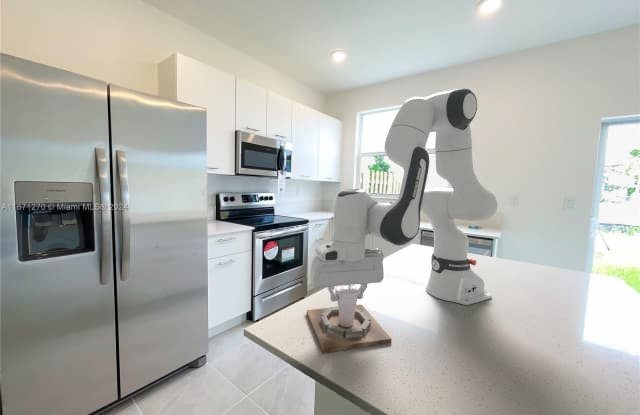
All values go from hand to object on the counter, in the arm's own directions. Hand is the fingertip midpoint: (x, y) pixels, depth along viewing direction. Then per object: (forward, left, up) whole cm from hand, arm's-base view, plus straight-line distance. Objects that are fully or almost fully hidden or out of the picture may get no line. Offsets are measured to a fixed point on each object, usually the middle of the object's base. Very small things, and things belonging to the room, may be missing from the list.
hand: (346, 299), depth 69 cm
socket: (0, 0, -8) cm, 8 cm away
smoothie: (0, 0, -7) cm, 7 cm away
